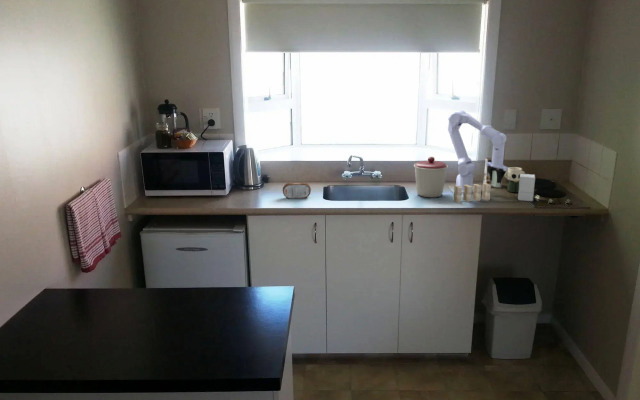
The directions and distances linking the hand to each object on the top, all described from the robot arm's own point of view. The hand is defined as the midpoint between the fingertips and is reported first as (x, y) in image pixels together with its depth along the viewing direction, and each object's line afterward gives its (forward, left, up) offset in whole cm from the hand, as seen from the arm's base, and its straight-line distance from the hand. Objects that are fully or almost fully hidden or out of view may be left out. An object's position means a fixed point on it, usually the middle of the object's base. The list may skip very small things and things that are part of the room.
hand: (495, 181), depth 276 cm
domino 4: (+5, -8, -8) cm, 12 cm away
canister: (-10, -33, -8) cm, 35 cm away
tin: (-26, -103, -8) cm, 106 cm away
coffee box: (-18, +10, -8) cm, 22 cm away
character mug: (-4, +14, -8) cm, 16 cm away
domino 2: (+5, -19, -8) cm, 21 cm away
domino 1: (+5, -25, -8) cm, 27 cm away
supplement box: (+11, +11, -8) cm, 17 cm away
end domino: (0, 0, -3) cm, 2 cm away
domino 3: (+5, -14, -8) cm, 17 cm away
